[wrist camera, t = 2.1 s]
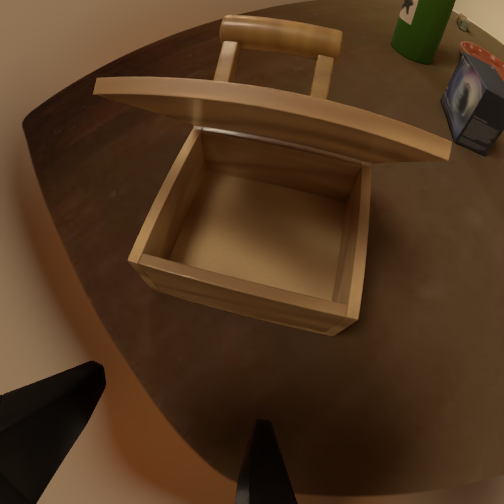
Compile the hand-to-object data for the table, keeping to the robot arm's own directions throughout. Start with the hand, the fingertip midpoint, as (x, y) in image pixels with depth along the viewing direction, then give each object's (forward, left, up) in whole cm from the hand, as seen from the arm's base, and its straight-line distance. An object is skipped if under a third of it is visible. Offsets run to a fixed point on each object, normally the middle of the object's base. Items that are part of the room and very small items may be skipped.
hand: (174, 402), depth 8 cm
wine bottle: (+46, -45, -14) cm, 66 cm away
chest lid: (+13, -6, -3) cm, 14 cm away
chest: (+11, -6, -14) cm, 19 cm away
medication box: (+80, -95, -14) cm, 125 cm away
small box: (+24, -40, -14) cm, 48 cm away
